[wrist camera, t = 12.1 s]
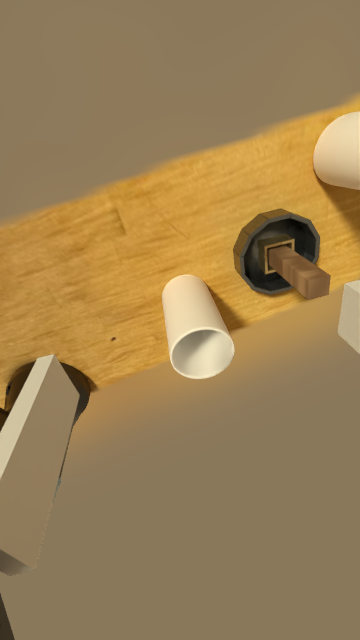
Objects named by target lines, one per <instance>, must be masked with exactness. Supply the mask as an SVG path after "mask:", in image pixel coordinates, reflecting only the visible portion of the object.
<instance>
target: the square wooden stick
mask: <svg viewBox="0 0 360 640" xmlns="http://www.w3.org/2000/svg"><path fill="white" fill-rule="evenodd" d="M267 260H268V264H269V265H270V266H271V267H272V268H273V269H274V270H275V271H276V272H278V273H279V274H280V275H281V276H282V277H283V278H284V279H285V280H286V281H287V282H289V283H290V284H291V285H292V286H293V287H294V288H295V289H296V290H297V291H298V292H300V293H301V294H302V295H303V296H304V297H305V298H306V299H307V300H309V299H313V298H317V297H321V296H325V295H329V286H330V276H331V275H329V274H328V273H326V272H325V271H323V270H322V269H320V268H319V267H317V266H316V265H314V264H313V263H311V262H310V261H308V260H307V259H305V258H304V257H302V256H301V255H299V254H298V253H296V252H295V251H293V250H292V249H290V248H289V247H287V246H286V245H284V244H282V245H278V246H274V247H270V248H267Z"/></svg>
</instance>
